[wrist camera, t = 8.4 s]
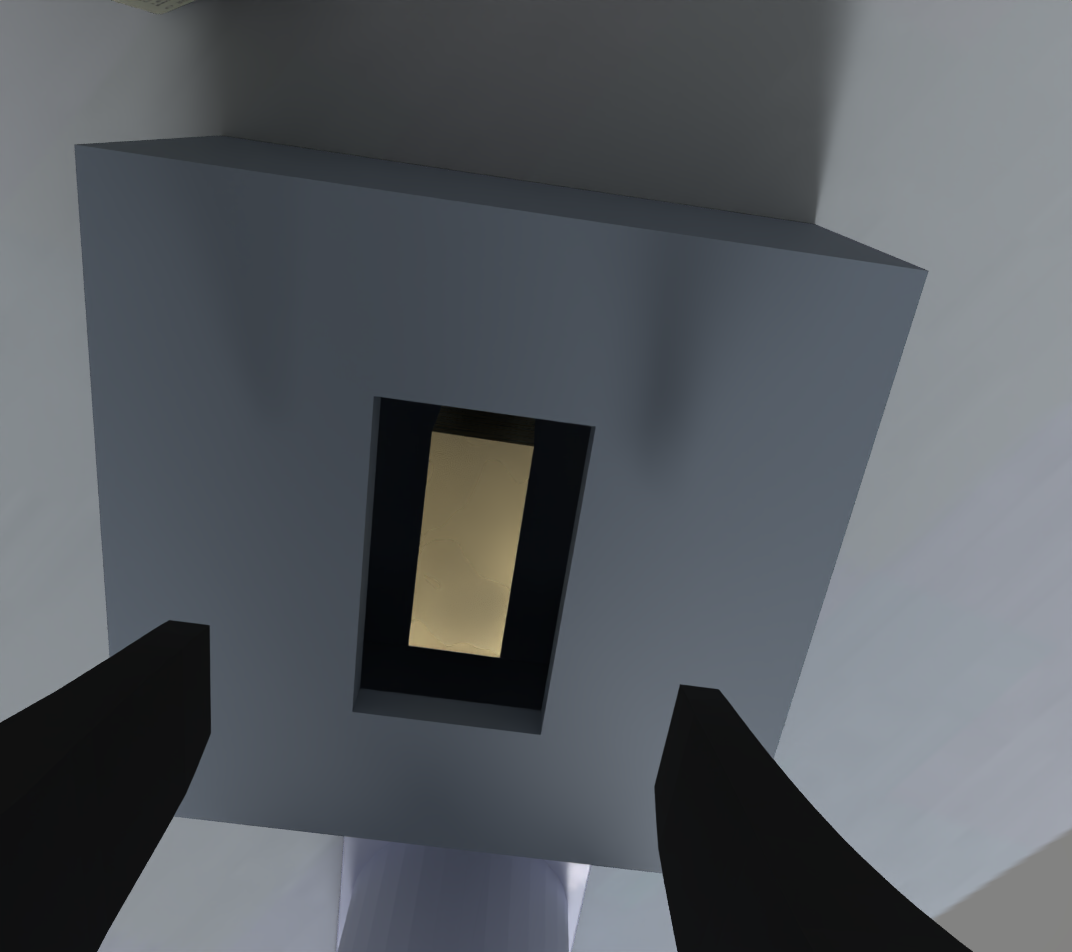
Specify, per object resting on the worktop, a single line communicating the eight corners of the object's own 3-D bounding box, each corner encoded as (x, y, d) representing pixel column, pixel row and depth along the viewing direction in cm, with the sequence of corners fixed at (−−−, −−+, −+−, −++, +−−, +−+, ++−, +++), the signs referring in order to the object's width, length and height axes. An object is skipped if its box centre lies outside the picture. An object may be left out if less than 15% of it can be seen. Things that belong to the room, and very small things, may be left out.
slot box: (691, 702, 26) (734, 881, 20) (223, 643, 25) (120, 810, 19) (815, 224, 20) (928, 270, 14) (220, 135, 19) (74, 144, 14)
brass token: (509, 549, 23) (499, 657, 19) (436, 539, 23) (408, 645, 18) (537, 374, 21) (533, 446, 17) (457, 362, 21) (432, 431, 16)
